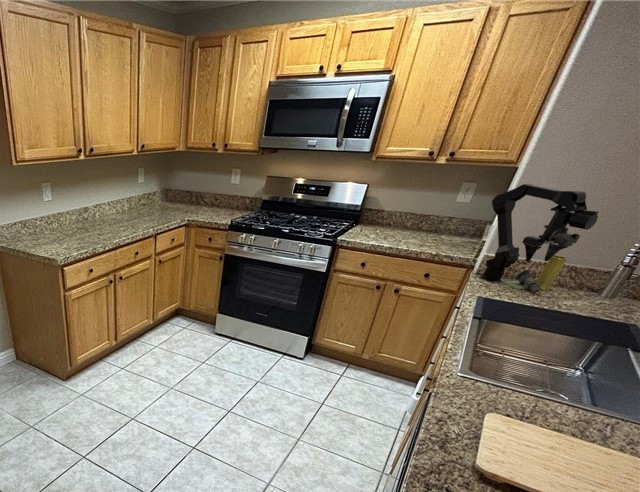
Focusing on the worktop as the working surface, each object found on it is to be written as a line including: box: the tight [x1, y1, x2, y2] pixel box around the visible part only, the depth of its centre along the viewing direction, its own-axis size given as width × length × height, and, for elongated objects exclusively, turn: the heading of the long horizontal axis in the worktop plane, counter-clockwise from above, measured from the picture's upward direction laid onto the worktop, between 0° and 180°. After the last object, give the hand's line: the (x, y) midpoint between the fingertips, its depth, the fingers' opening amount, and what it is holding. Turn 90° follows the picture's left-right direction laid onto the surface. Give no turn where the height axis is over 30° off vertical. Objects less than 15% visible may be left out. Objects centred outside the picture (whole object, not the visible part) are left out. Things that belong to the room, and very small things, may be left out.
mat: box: [501, 280, 529, 290], centre depth 192 cm, size 8×9×1 cm
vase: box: [535, 254, 568, 291], centre depth 187 cm, size 6×6×14 cm
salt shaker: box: [515, 270, 542, 293], centre depth 186 cm, size 6×6×12 cm
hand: (536, 261), depth 180 cm, fingers open, 9 cm apart
